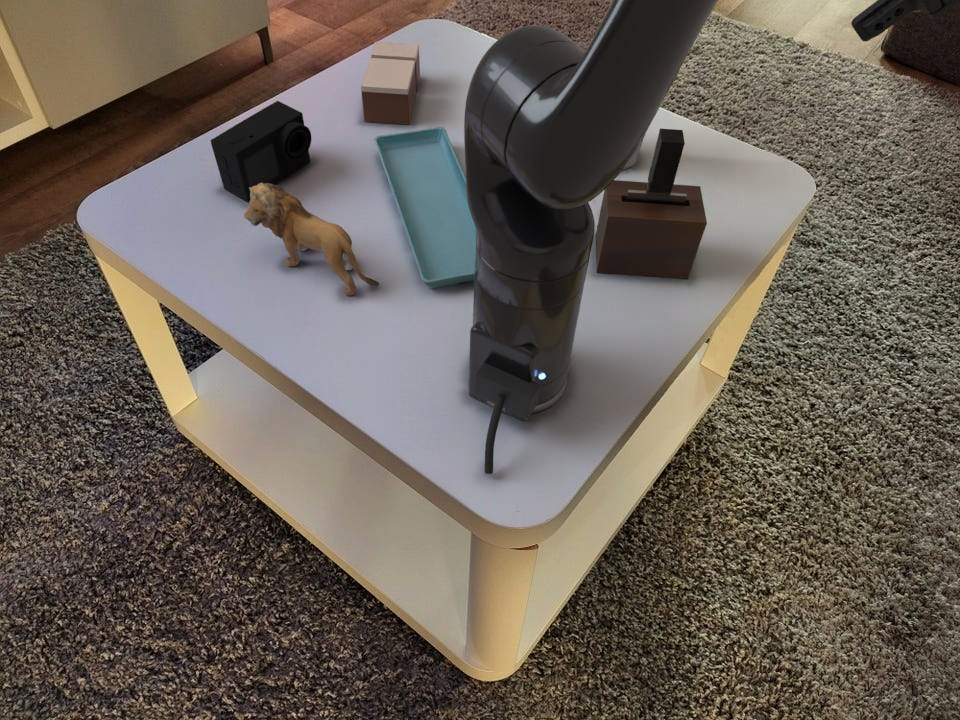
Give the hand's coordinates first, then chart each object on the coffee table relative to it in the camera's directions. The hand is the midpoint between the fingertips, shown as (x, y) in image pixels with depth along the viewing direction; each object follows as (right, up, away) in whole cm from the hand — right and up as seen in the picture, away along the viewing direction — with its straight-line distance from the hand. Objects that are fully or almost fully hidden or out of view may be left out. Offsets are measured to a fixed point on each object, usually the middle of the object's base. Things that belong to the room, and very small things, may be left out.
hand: (840, 6), depth 64 cm
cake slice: (-42, +9, +42) cm, 60 cm away
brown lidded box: (-42, +4, +38) cm, 57 cm away
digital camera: (-56, -8, +28) cm, 63 cm away
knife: (-12, -18, +21) cm, 30 cm away
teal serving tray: (-36, -13, +25) cm, 45 cm away
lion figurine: (-48, -20, +19) cm, 55 cm away
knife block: (-12, -18, +21) cm, 30 cm away
